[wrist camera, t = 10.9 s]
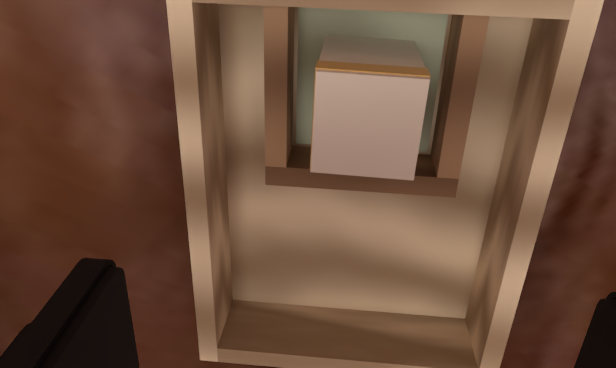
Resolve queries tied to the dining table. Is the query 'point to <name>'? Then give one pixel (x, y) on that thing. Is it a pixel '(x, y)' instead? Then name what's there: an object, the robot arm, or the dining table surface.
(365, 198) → the walled box
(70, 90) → the dining table surface
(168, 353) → the dining table surface
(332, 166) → the small white lidded box
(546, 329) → the dining table surface
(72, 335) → the robot arm
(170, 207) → the dining table surface
